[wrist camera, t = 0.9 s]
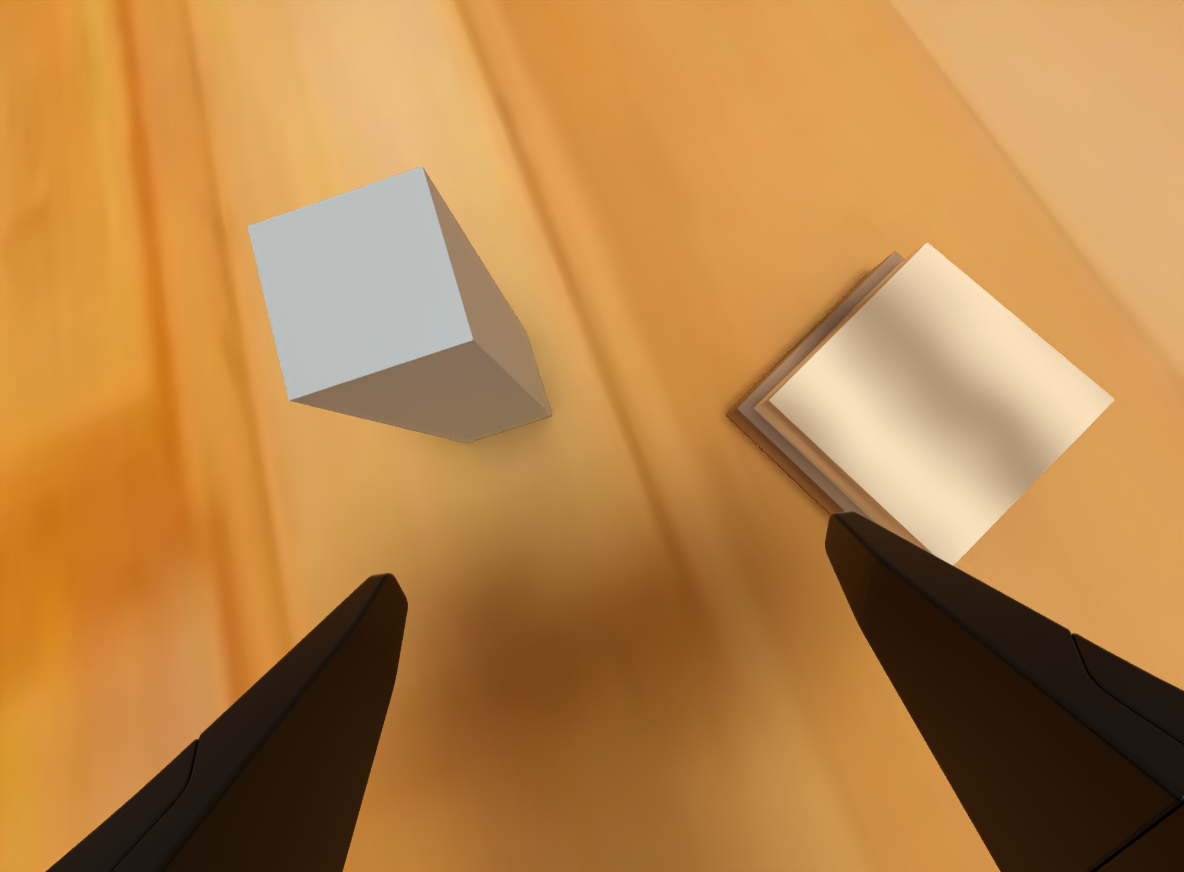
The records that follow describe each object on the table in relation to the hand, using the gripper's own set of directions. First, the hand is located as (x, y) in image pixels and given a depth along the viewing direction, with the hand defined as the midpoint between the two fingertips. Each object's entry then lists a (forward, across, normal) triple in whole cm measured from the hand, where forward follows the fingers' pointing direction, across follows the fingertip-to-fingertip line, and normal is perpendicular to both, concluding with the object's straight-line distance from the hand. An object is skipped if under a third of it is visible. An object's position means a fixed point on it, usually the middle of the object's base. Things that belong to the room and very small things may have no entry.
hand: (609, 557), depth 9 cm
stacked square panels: (+12, -13, +5) cm, 18 cm away
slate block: (+14, +5, +2) cm, 15 cm away
